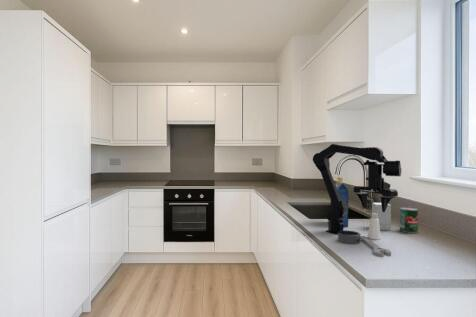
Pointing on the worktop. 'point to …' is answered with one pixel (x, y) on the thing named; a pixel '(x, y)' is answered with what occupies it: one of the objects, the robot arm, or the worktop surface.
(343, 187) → the blue cleaner bottle
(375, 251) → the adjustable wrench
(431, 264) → the worktop surface
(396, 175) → the robot arm
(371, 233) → the salt shaker
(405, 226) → the canned tomato
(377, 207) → the supplement box
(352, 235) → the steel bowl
